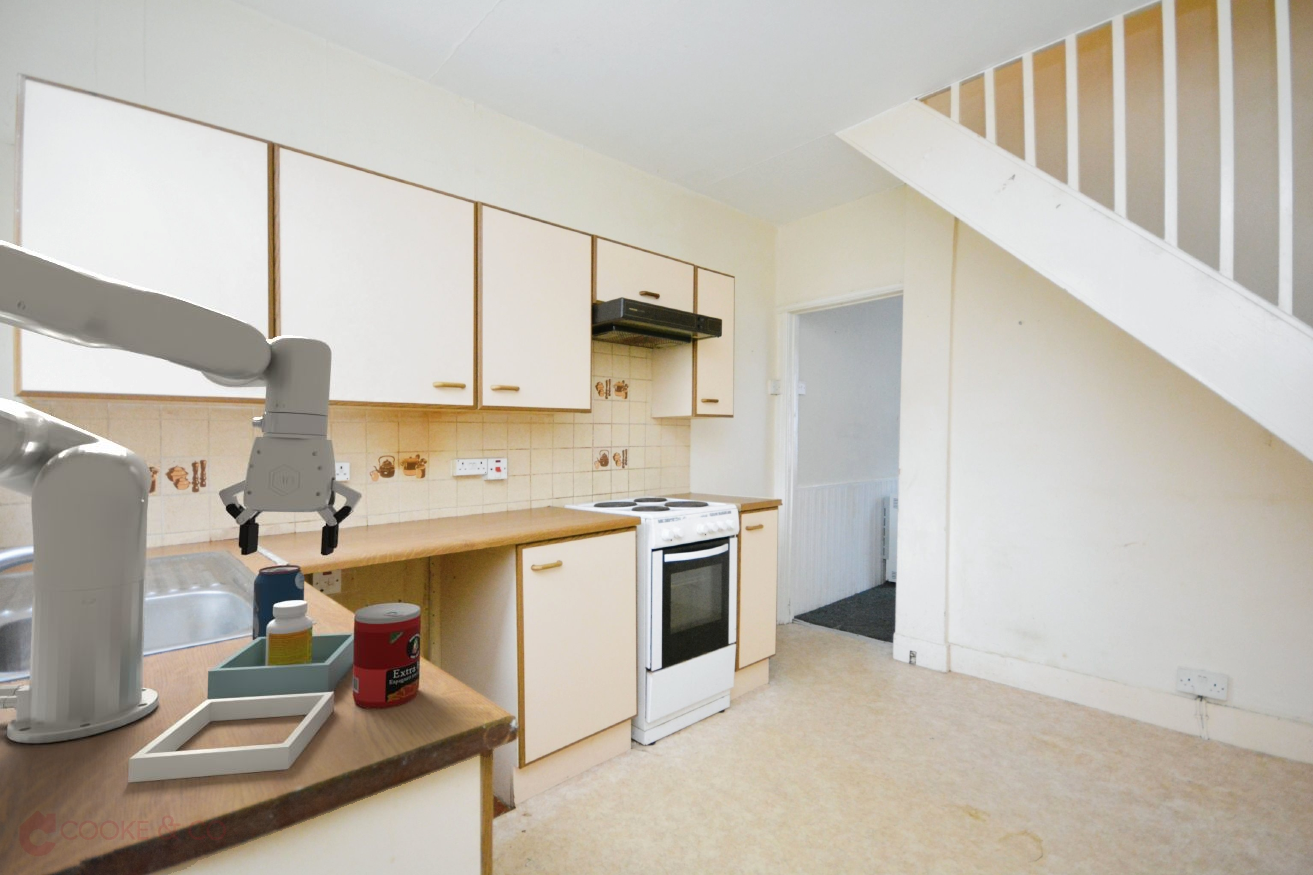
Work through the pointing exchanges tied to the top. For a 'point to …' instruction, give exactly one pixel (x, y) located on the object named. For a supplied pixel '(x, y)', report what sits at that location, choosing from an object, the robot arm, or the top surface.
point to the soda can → (274, 593)
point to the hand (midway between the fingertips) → (288, 553)
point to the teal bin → (282, 670)
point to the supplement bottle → (289, 635)
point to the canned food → (386, 654)
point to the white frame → (168, 764)
